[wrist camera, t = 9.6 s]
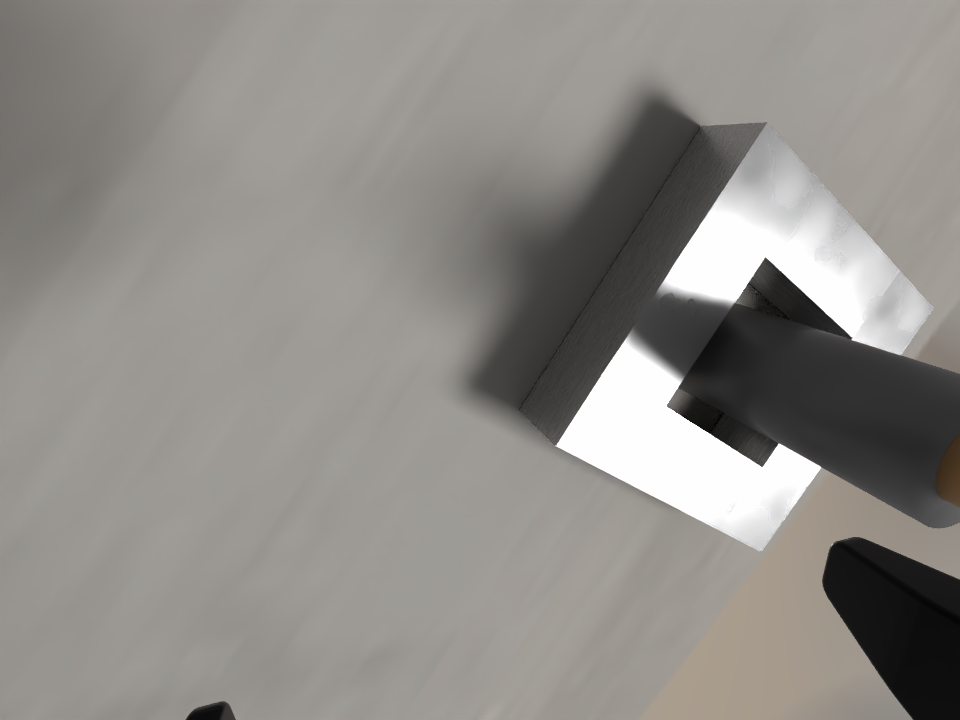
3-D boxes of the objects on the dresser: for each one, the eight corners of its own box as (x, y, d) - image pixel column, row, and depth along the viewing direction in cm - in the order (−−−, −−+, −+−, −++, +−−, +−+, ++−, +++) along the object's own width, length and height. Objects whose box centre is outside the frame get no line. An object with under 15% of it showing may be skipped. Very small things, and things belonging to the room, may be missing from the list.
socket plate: (711, 512, 27) (761, 552, 25) (519, 410, 22) (555, 445, 19) (864, 292, 26) (933, 308, 23) (701, 125, 21) (767, 122, 18)
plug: (707, 406, 25) (1066, 609, 14) (646, 366, 23) (1003, 561, 12) (761, 327, 25) (1173, 470, 14) (703, 280, 23) (1126, 401, 12)
